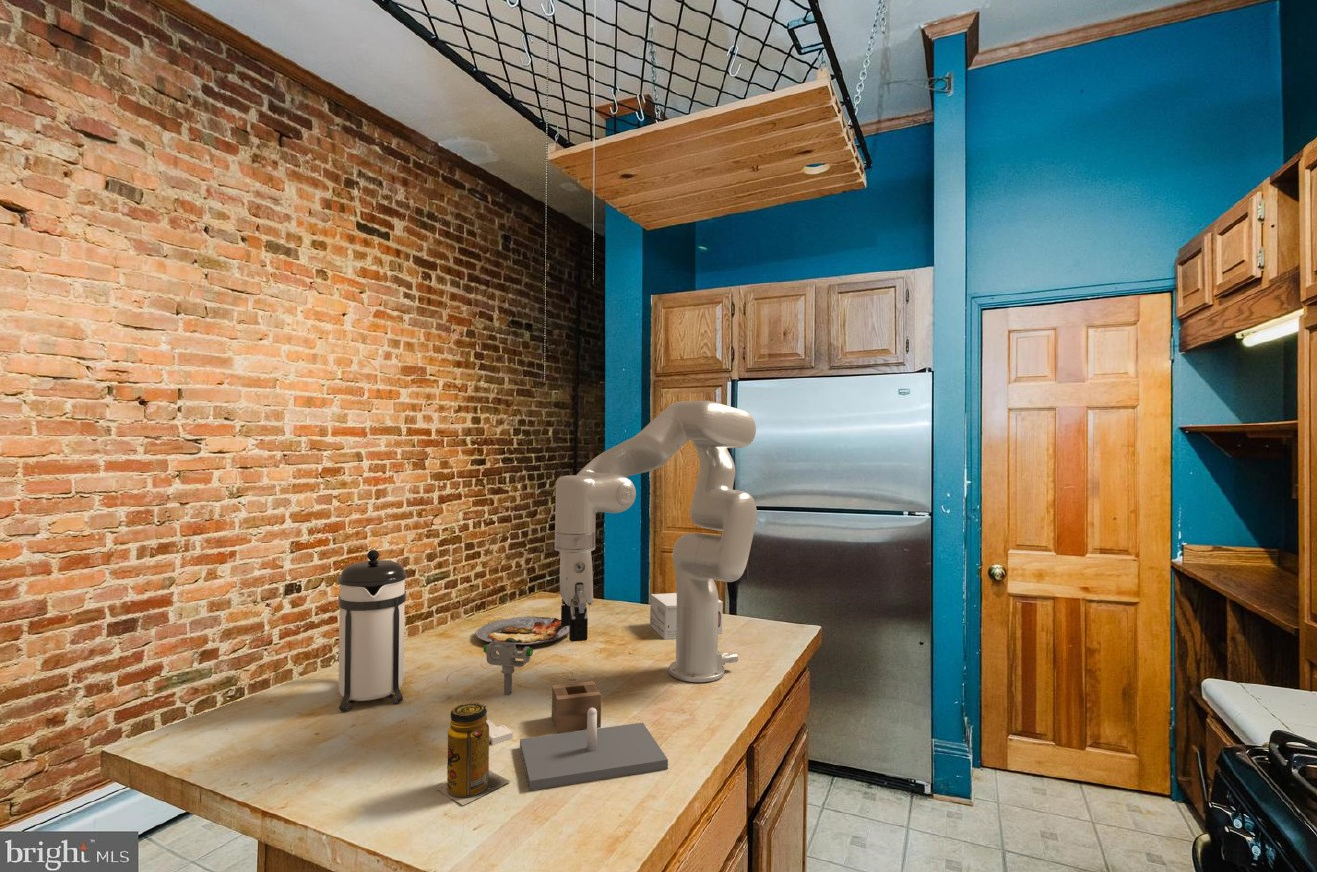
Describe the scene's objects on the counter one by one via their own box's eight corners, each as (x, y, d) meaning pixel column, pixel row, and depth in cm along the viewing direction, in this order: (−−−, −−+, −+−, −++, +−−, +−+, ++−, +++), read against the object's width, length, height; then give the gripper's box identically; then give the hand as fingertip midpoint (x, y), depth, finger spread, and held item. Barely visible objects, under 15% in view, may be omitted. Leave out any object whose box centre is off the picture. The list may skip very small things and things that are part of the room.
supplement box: (664, 640, 169) (665, 605, 169) (649, 626, 181) (649, 593, 182) (723, 635, 174) (723, 600, 174) (704, 621, 187) (704, 589, 187)
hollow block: (592, 711, 124) (593, 680, 124) (600, 727, 118) (601, 694, 118) (551, 716, 122) (551, 685, 122) (557, 732, 115) (557, 699, 115)
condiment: (435, 788, 97) (436, 709, 97) (483, 766, 103) (484, 692, 103) (462, 806, 92) (463, 723, 92) (511, 783, 99) (511, 705, 99)
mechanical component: (527, 698, 130) (528, 649, 130) (481, 694, 132) (482, 645, 132) (533, 693, 133) (534, 645, 133) (488, 688, 135) (488, 641, 135)
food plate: (585, 626, 180) (584, 614, 180) (552, 654, 157) (552, 640, 157) (503, 622, 185) (503, 609, 185) (460, 648, 163) (460, 634, 163)
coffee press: (430, 689, 134) (432, 546, 135) (367, 719, 120) (369, 559, 120) (371, 675, 142) (372, 540, 142) (304, 702, 127) (306, 551, 127)
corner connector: (451, 736, 114) (452, 727, 114) (494, 724, 119) (494, 716, 119) (468, 754, 108) (468, 745, 108) (512, 741, 113) (512, 732, 113)
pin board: (642, 730, 117) (643, 685, 117) (667, 768, 103) (668, 717, 103) (519, 747, 110) (520, 699, 110) (529, 790, 97) (530, 735, 97)
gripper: (604, 548, 113) (603, 645, 113) (586, 534, 130) (584, 618, 130) (562, 550, 111) (560, 649, 111) (548, 535, 127) (547, 621, 127)
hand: (573, 632), depth 120 cm, fingers open, 9 cm apart
